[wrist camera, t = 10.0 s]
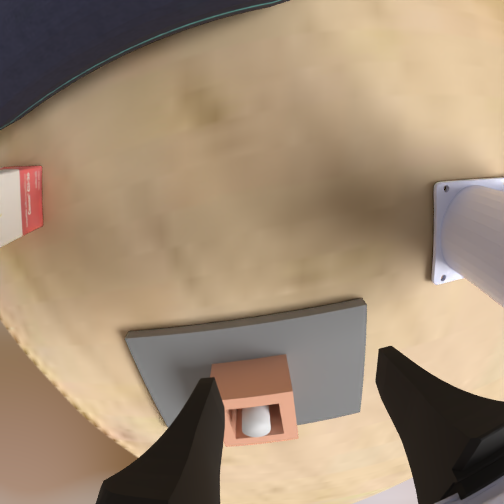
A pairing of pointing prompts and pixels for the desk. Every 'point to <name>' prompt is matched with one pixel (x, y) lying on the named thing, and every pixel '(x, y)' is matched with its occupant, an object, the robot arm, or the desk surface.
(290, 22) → the desk surface
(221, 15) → the portable speaker
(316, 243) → the desk surface
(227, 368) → the collar
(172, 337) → the post base
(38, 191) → the ink cartridge box
